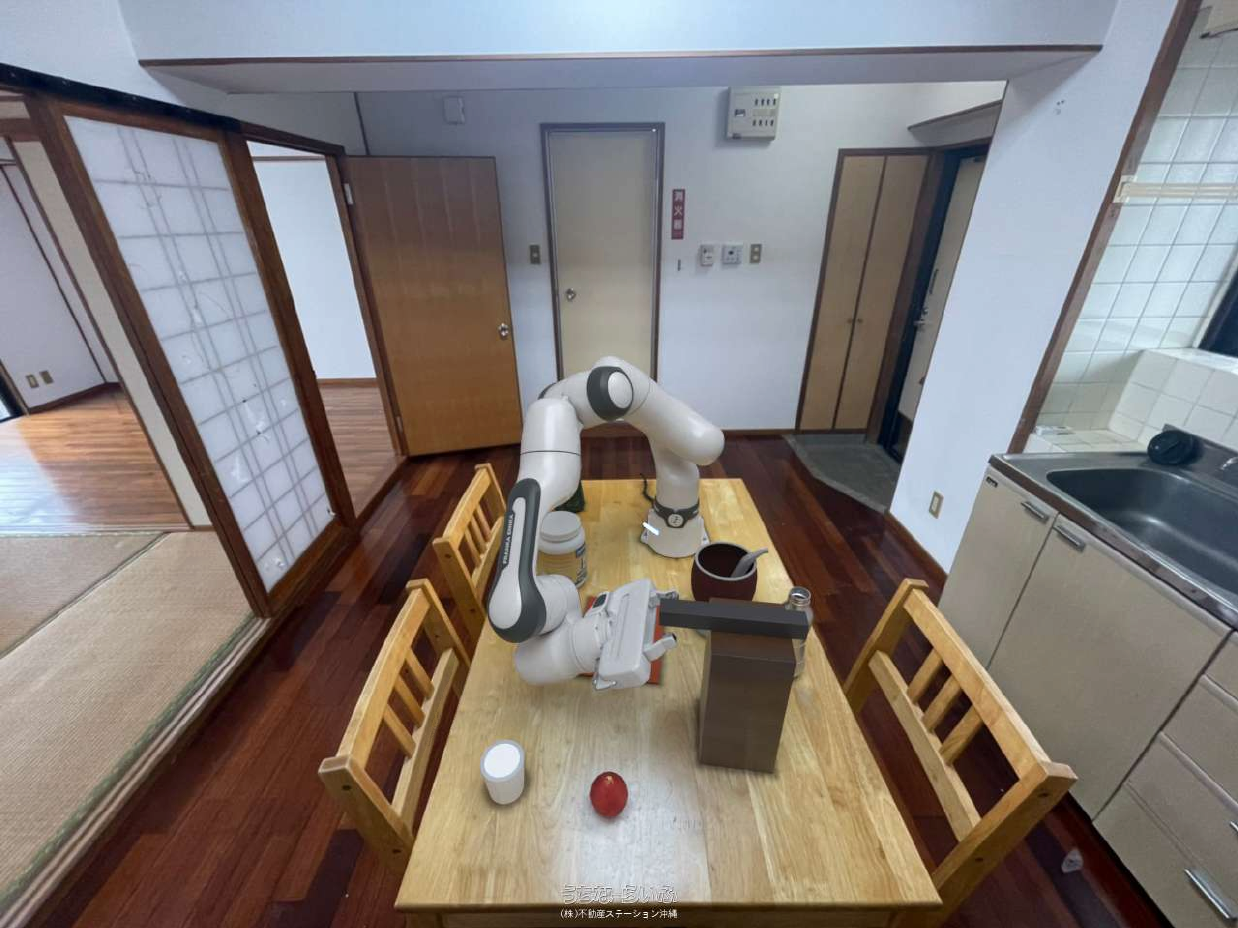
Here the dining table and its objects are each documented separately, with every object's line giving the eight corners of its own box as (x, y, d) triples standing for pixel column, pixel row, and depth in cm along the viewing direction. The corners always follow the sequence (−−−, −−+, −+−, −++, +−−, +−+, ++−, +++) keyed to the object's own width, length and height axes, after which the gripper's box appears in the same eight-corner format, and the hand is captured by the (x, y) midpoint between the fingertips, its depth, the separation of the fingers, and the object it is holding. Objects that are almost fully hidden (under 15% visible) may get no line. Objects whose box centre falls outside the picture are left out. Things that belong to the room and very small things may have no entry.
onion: (583, 813, 80) (581, 782, 76) (604, 781, 84) (603, 751, 81) (614, 835, 77) (613, 805, 74) (634, 802, 82) (635, 771, 78)
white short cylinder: (477, 783, 84) (471, 757, 81) (514, 757, 88) (510, 731, 85) (498, 818, 80) (492, 791, 76) (536, 788, 83) (532, 762, 80)
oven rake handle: (659, 611, 82) (660, 597, 81) (802, 625, 80) (805, 610, 78) (658, 625, 80) (659, 611, 78) (805, 640, 77) (809, 625, 76)
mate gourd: (690, 643, 110) (696, 569, 101) (685, 598, 122) (690, 528, 113) (763, 644, 110) (776, 570, 100) (751, 599, 122) (761, 529, 113)
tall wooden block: (699, 702, 97) (710, 597, 85) (764, 709, 96) (784, 603, 84) (699, 763, 87) (711, 653, 75) (772, 773, 85) (796, 662, 73)
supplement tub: (589, 592, 124) (587, 535, 117) (538, 598, 123) (532, 540, 115) (584, 561, 135) (582, 506, 127) (537, 566, 133) (532, 510, 126)
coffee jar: (584, 499, 162) (582, 446, 154) (584, 513, 155) (582, 458, 147) (553, 500, 162) (549, 447, 153) (552, 514, 155) (548, 459, 146)
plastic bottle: (804, 685, 101) (822, 607, 91) (768, 679, 102) (782, 602, 93) (800, 659, 106) (817, 583, 97) (766, 654, 107) (780, 579, 98)
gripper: (578, 680, 75) (662, 654, 70) (602, 585, 93) (670, 560, 88) (600, 707, 77) (683, 684, 72) (619, 610, 95) (687, 586, 90)
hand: (676, 615), depth 80 cm, fingers open, 8 cm apart
